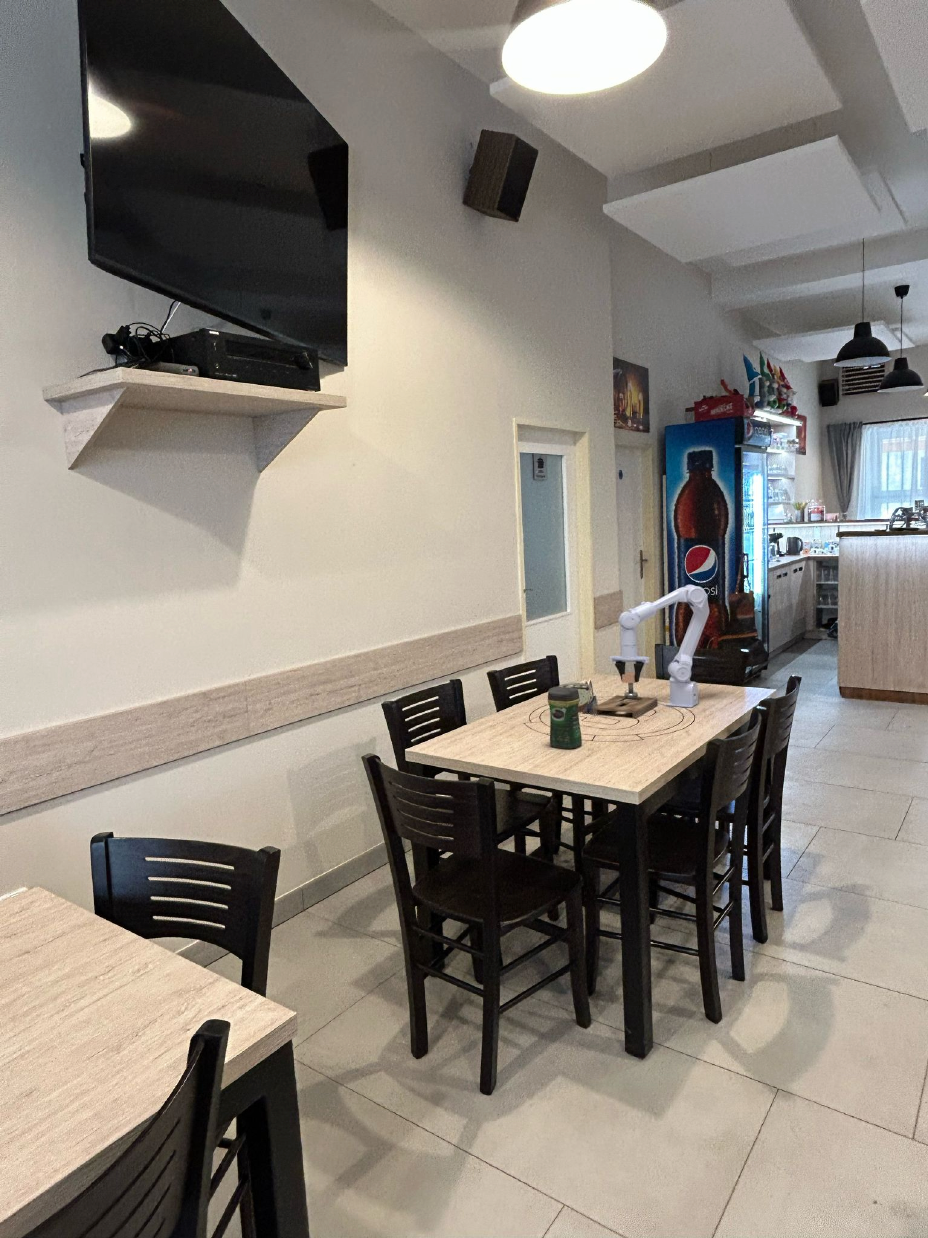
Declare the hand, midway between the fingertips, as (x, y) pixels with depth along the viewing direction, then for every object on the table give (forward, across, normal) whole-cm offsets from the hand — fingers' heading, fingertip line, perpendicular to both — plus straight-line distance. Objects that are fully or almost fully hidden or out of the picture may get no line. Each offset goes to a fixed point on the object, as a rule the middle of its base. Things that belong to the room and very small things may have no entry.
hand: (630, 681), depth 290 cm
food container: (+10, +18, +11) cm, 23 cm away
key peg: (+6, 0, 0) cm, 6 cm away
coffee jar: (+10, +2, +54) cm, 55 cm away
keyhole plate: (+10, 0, +5) cm, 11 cm away
